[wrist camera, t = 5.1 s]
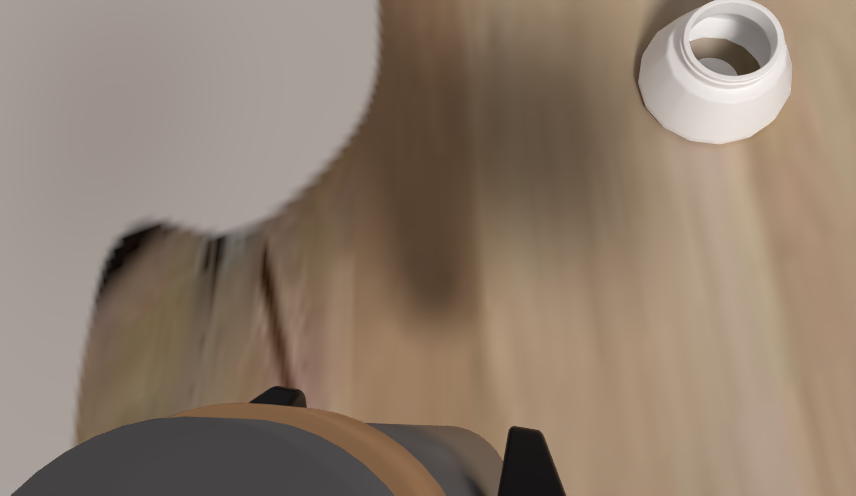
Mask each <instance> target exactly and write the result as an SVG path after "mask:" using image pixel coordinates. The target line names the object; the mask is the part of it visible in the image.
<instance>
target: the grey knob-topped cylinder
mask: <svg viewBox="0 0 856 496" xmlns="http://www.w3.org/2000/svg"><path fill="white" fill-rule="evenodd" d="M502 466H503V461H502V459H501V457H500V456H499V454H498V453H497V451H496V450H495V449H494V448H493V447H492V445H491V444H490V443H488V442H487V441H486V440H485V439H484V438H482V437H481V436H479V435H478V434H476V433H474V432H472V431H470V430H467V429H464V428H460V427H454V426H432V425H404V424H377V423H363V422H362V421H359V420H356V419H353V418H350V417H347V416H345V415H342V414H339V413H334V412H329V411H324V410H319V409H312V408H302V407H291V406H281V405H270V404H254V403H230V404H219V405H210V406H205V407H201V408H197V409H192V410H188V411H184V412H181V413H178V414H176V415H173V416H170V417H168V418H160V419H152V420H147V421H143V422H139V423H134V424H130V425H126V426H122V427H119V428H117V429H114V430H111V431H109V432H106V433H103V434H101V435H98V436H95V437H93V438H91V439H89V440H87V441H85V442H83V443H82V444H80V445H78V446H76V447H74V448H72V449H70V450H68V451H67V452H65V453H63V454H62V455H60V456H59V457H58V458H56V459H55V460H53V461H52V462H51V463H49V464H48V465H46V466H45V467H43V468H42V469H40V470H39V471H38V472H37V473H35V474H34V475H33V476H32V477H31V478H30V479H29V480H27V481H26V482H25V483H24V484H23V485H22V486H21V487H20V488H18V490H16V491H15V492H14V493H13V494H12V495H11V496H498V489H499V483H500V477H501V472H502Z"/></svg>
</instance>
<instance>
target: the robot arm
mask: <svg viewBox="0 0 856 496" xmlns="http://www.w3.org/2000/svg"><path fill="white" fill-rule="evenodd" d="M249 403H254V404H270V405H281V406H291V407H302V408H307V406H306V398H305V395H304V393H303V392H302V391H301V390H299V389H294V388H288V387H282V386H274V387H272V388H270V389H268V390H267V391H265V392H264V393H262V394H261V395H259V396H258V397H256V398H255V399H253V400H252V401H250V402H249ZM498 496H566V494H565V491H564V488H563V486H562V483H561V480H560V478H559V475H558V472H557V470H556V467H555V464H554V462H553V459H552V456H551V454H550V451H549V449H548V446H547V443H546V441H545V438H544V436H543V434H542V433H541V432H540V431H539V430H535V429H529V428H523V427H517V426H513V427H511V428H510V429H509V432H508V437H507V443H506V448H505V454H504V460H503V466H502V472H501V477H500V483H499V489H498Z"/></svg>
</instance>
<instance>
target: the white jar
mask: <svg viewBox="0 0 856 496" xmlns="http://www.w3.org/2000/svg"><path fill="white" fill-rule="evenodd" d="M703 37H710V38H721V39H727V40H729V41H731V42H733V43H736V44H738V45H740V46H742V47H744V48H745V49H746V50H747V51H748V52H749V53H750V54H751V55H752V56H753V57H754V58H755V59H756V60H757V61H758V63H759V66H760V69H759V70H757V71H755V72H752V73H750V74H746V75H740V76H738V75H737V73H736V71H735V70H734V68H733V67H732V66H731V65H730V64H728V63H727V62H725V61H723V60H720V59H716V58H704V59H700V60H697V59H696V57H695V56H694V54H693V52H692V50H691V47H690V42H689V41H691V40H695V39H699V38H703ZM791 79H792V64H791V60H790V56H789V52H788V48H787V46H786V43H785V41H784V34H783V30H782V28H781V25H780V23H779V21H778V20H777V19H776V17H775V16H774V15H773V14H772V13H771V12H770V11H769V10H768V9H766V8H765V7H764V6H762V5H760V4H758V3H756V2H754V1H751V0H714V1H712V2H709V3H707V4H705V5H703V6H702V7H699V8H696V9H694V10H692V11H690V12H688V13H686V14H684V15H682V16H680V17H679V18H677V19H676V20H674V21H673V22H671V23H670V24H668V25H667V26H665V27H664V28H663V29H661V30H660V31H658V32H657V33H656V35H655V36H654V38H653V39H652V41H651V42H650V44H649V45H648V47H647V48H646V50H645V51H644V53H643V55H642V59H641V66H640V73H639V80H638V85H639V88H640V91H641V94H642V97H643V100H644V103H645V106H646V108H647V109H648V110H649V112H650V113H651V114H652V115H653V116H654V117H655V118H656V119H657V121H658V122H659V123H660V124H661V125H662V126H663V127H664V128H665V129H667V130H669V131H671V132H673V133H675V134H677V135H679V136H681V137H683V138H685V139H687V140H689V141H696V142H704V143H713V144H724V143H728V142H732V141H737V140H741V139H745V138H749V137H751V136H752V135H754V134H755V133H757V132H758V131H760V130H761V129H762V128H764V127H765V126H767V125H768V124H770V123H771V122H773V120H774V119H775V118H776V117H777V115H778V113H779V112H780V110H781V108H782V107H783V105H784V103H785V102H786V100H787V98H788V97H789V95H790V92H791Z"/></svg>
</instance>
